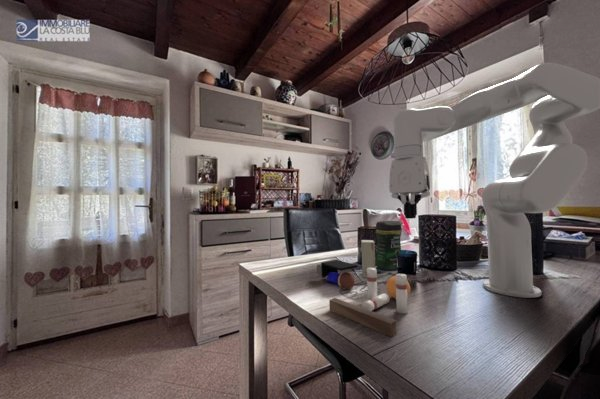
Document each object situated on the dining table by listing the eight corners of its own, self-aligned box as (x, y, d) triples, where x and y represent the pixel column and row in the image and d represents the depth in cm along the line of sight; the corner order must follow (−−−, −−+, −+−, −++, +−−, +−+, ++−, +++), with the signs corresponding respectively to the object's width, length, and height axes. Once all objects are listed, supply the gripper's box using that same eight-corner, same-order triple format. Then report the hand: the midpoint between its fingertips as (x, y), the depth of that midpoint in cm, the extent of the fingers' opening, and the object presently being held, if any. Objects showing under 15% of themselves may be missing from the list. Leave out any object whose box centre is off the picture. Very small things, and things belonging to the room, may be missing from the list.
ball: (380, 277, 66) (383, 300, 66) (401, 281, 61) (404, 305, 61) (392, 271, 69) (395, 292, 69) (413, 274, 65) (416, 297, 65)
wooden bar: (335, 307, 60) (334, 297, 60) (396, 333, 48) (396, 320, 48) (329, 310, 59) (329, 300, 59) (391, 336, 47) (390, 323, 47)
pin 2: (399, 308, 59) (398, 273, 59) (409, 311, 57) (408, 275, 58) (394, 311, 58) (393, 275, 58) (404, 314, 56) (403, 277, 56)
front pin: (379, 298, 64) (359, 307, 59) (383, 291, 63) (363, 299, 58) (387, 305, 62) (367, 315, 57) (390, 297, 62) (371, 307, 56)
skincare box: (376, 278, 83) (375, 242, 83) (362, 278, 84) (361, 242, 84) (374, 273, 89) (373, 239, 90) (362, 272, 90) (361, 239, 91)
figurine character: (315, 284, 83) (342, 292, 70) (314, 261, 84) (340, 265, 71) (332, 281, 86) (361, 288, 73) (330, 258, 87) (358, 262, 74)
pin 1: (371, 299, 65) (370, 267, 66) (379, 301, 64) (378, 268, 64) (365, 301, 64) (365, 268, 64) (373, 304, 62) (372, 270, 62)
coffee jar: (386, 272, 90) (385, 221, 91) (373, 267, 98) (371, 220, 98) (407, 269, 94) (405, 220, 94) (392, 264, 101) (390, 219, 102)
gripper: (378, 157, 74) (380, 218, 73) (430, 147, 62) (432, 219, 62) (391, 159, 79) (392, 216, 78) (441, 151, 67) (444, 218, 67)
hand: (410, 218), depth 70 cm, fingers closed
